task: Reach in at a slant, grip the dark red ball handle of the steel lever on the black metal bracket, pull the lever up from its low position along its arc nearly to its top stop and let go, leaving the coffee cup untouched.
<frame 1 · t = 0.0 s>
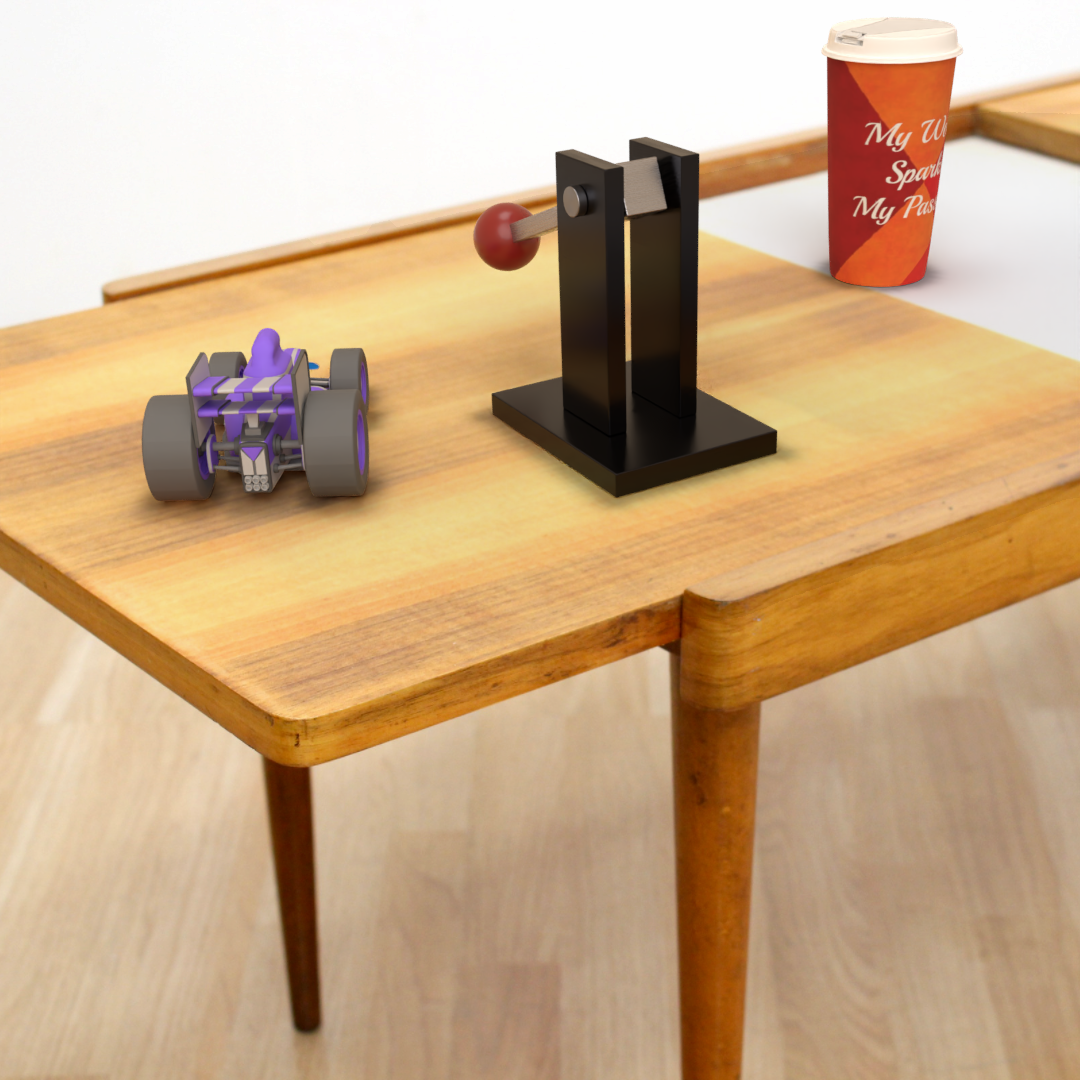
toy race car: (282, 453, 76), on the table
bracket: (629, 433, 76), on the table
lever: (560, 216, 77), point 9 cm above the table, hinge at -22.0°
coffee cup: (877, 275, 98), on the table
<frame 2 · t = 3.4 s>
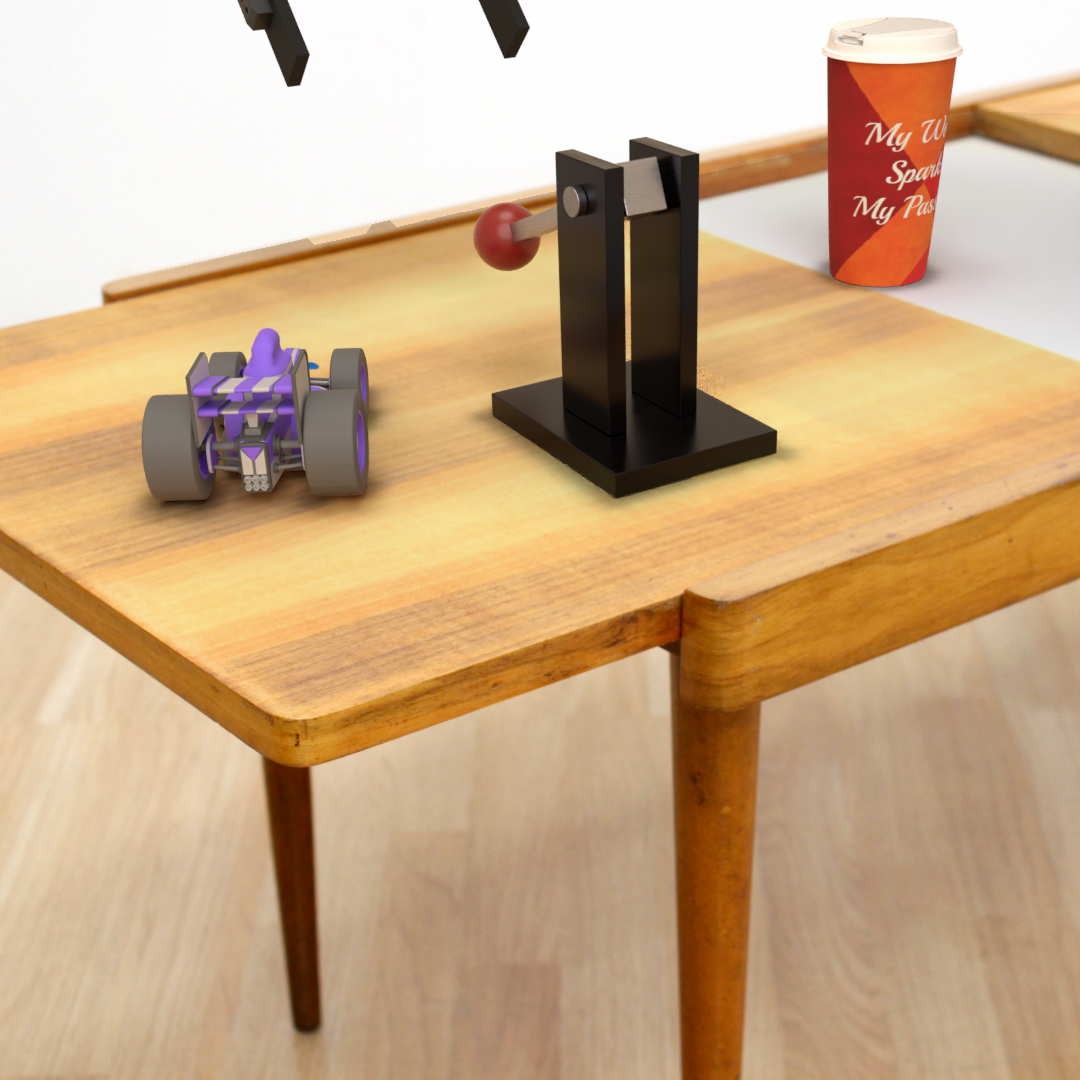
hand: (411, 57, 87), 15 cm above the table, tool tilted 45°, fingers open, 13 cm apart
nothing on the table moved.
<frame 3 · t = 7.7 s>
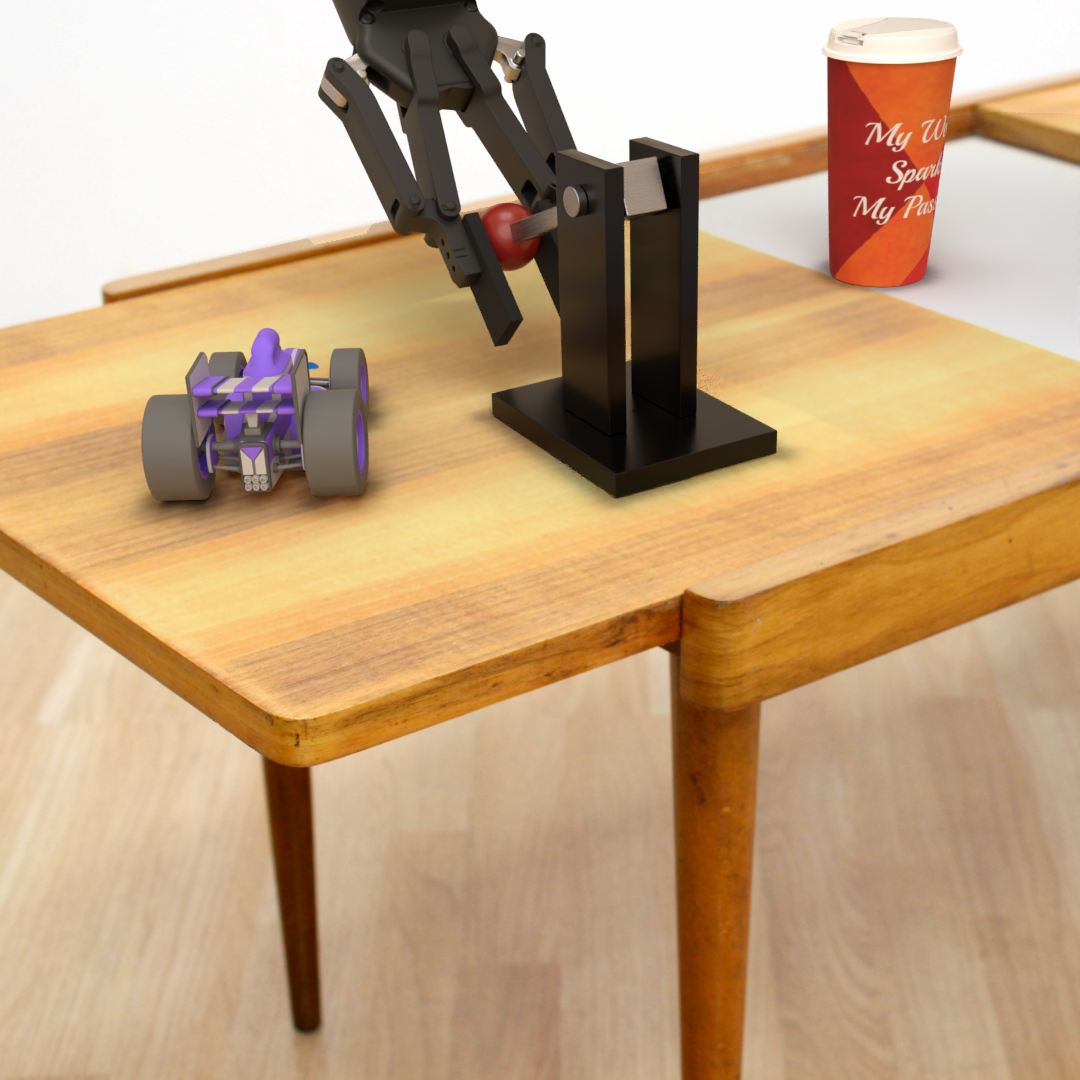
hand: (544, 324, 81), 3 cm above the table, tool tilted 45°, fingers closed on lever, 4 cm apart
lever: (560, 216, 77), point 9 cm above the table, hinge at -22.0°, touching gripper
everything else where it was.
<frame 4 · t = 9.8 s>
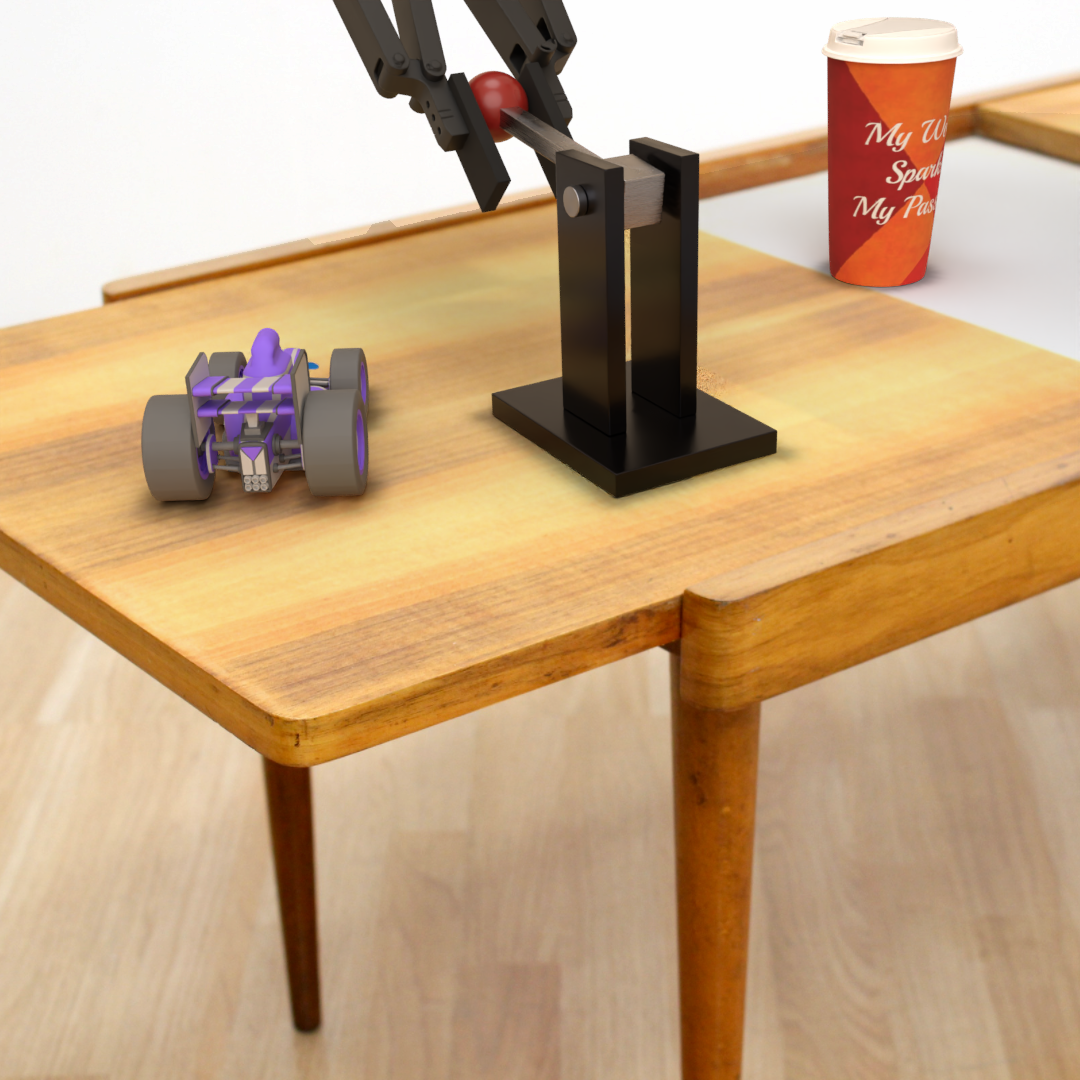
hand: (533, 189, 79), 10 cm above the table, tool tilted 45°, fingers closed on lever, 4 cm apart
lever: (554, 145, 76), point 13 cm above the table, hinge at 8.1°, touching gripper
everything else where it was.
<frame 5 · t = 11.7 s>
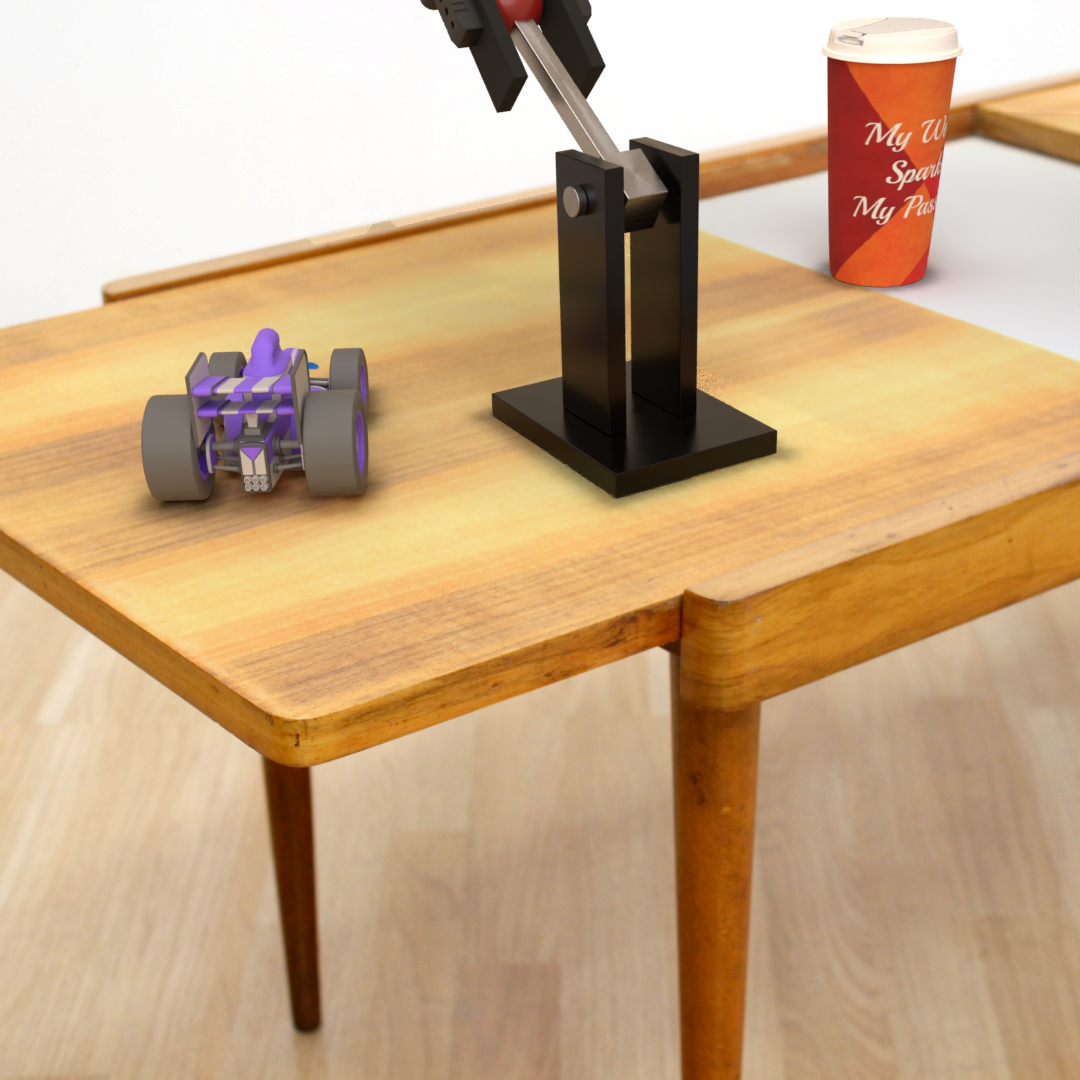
hand: (551, 88, 75), 16 cm above the table, tool tilted 45°, fingers closed on lever, 3 cm apart
lever: (562, 92, 74), point 16 cm above the table, hinge at 32.8°, touching gripper
everything else where it was.
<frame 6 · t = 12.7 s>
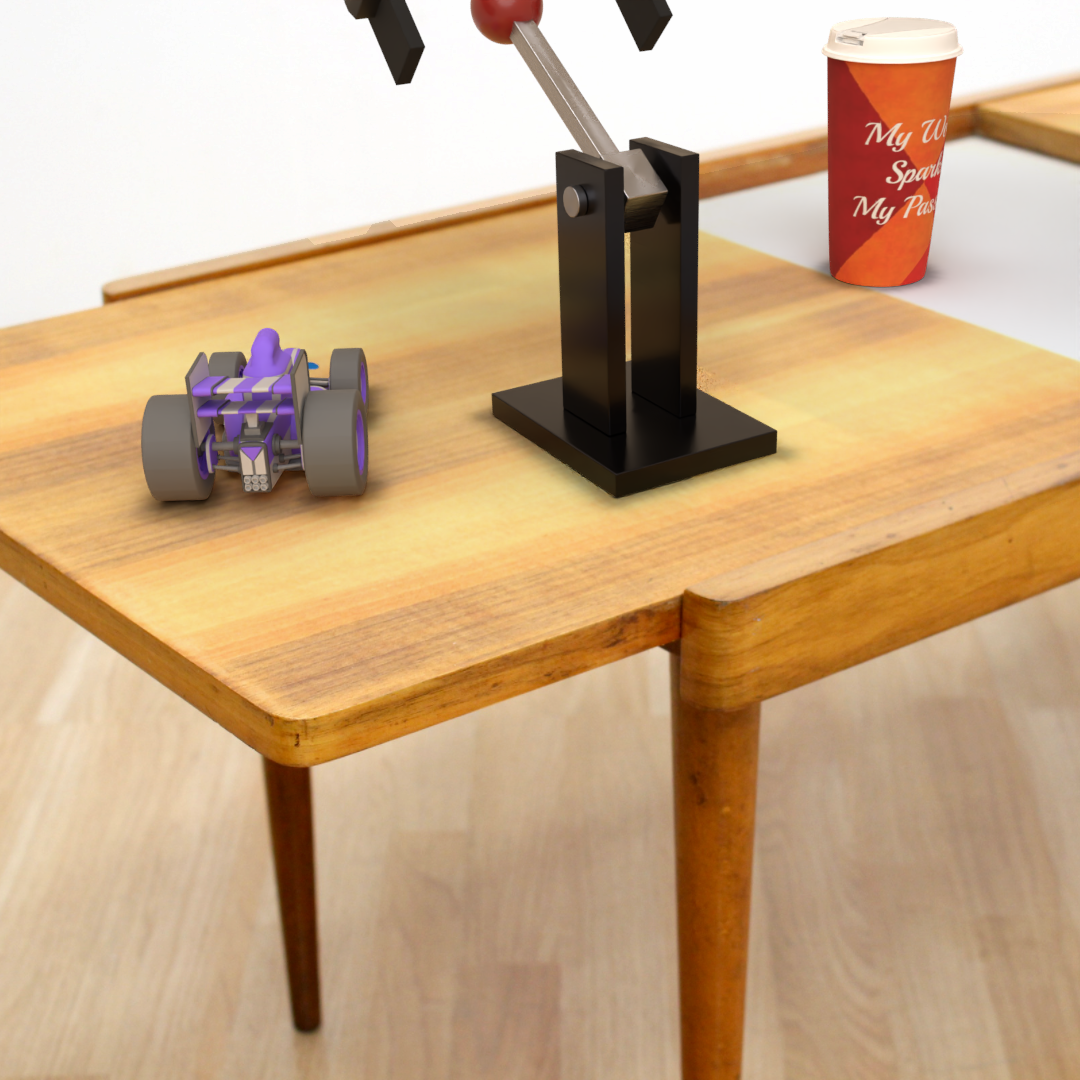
hand: (538, 50, 75), 17 cm above the table, tool tilted 45°, fingers open, 13 cm apart
lever: (562, 92, 74), point 16 cm above the table, hinge at 32.6°
everything else where it was.
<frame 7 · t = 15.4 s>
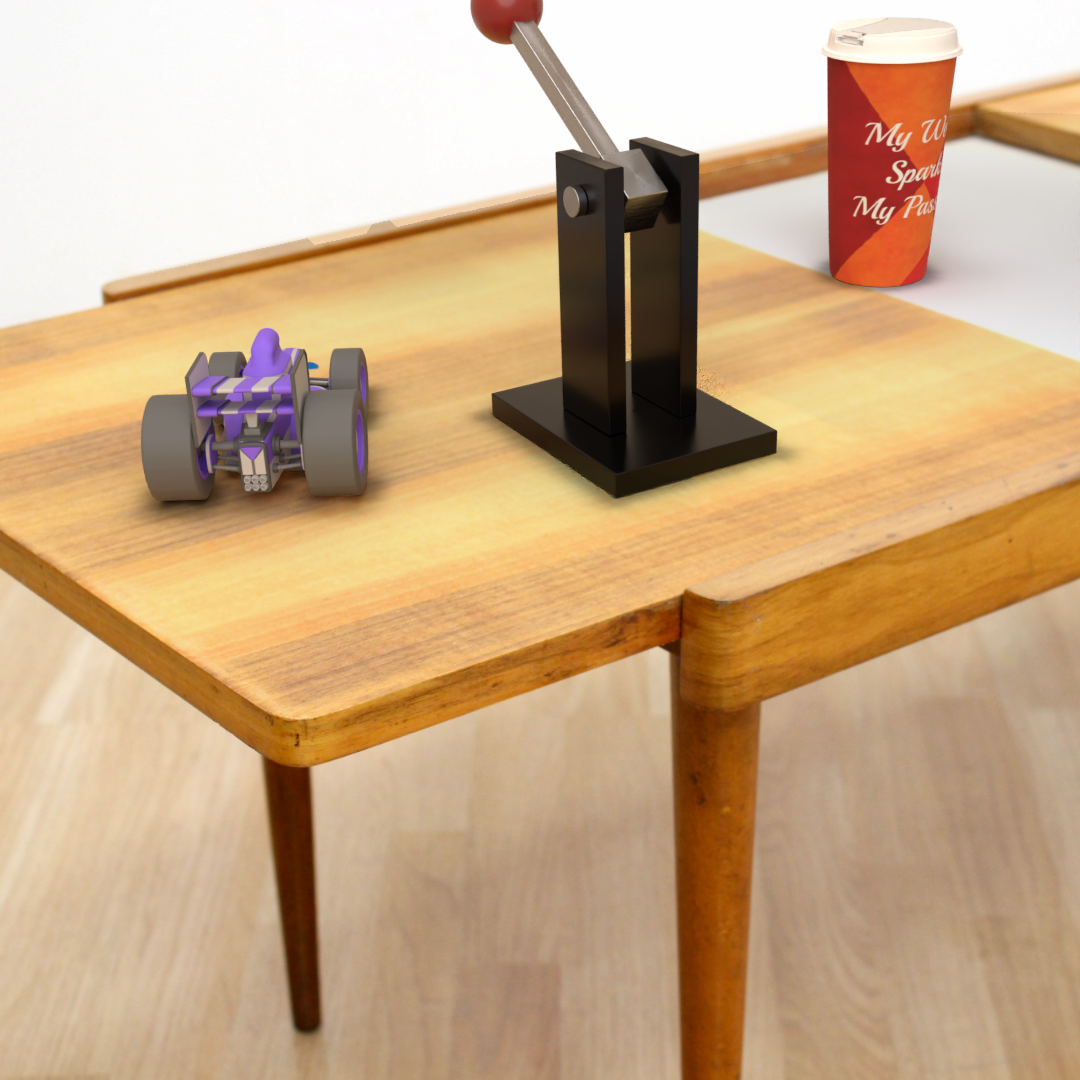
nothing on the table moved.
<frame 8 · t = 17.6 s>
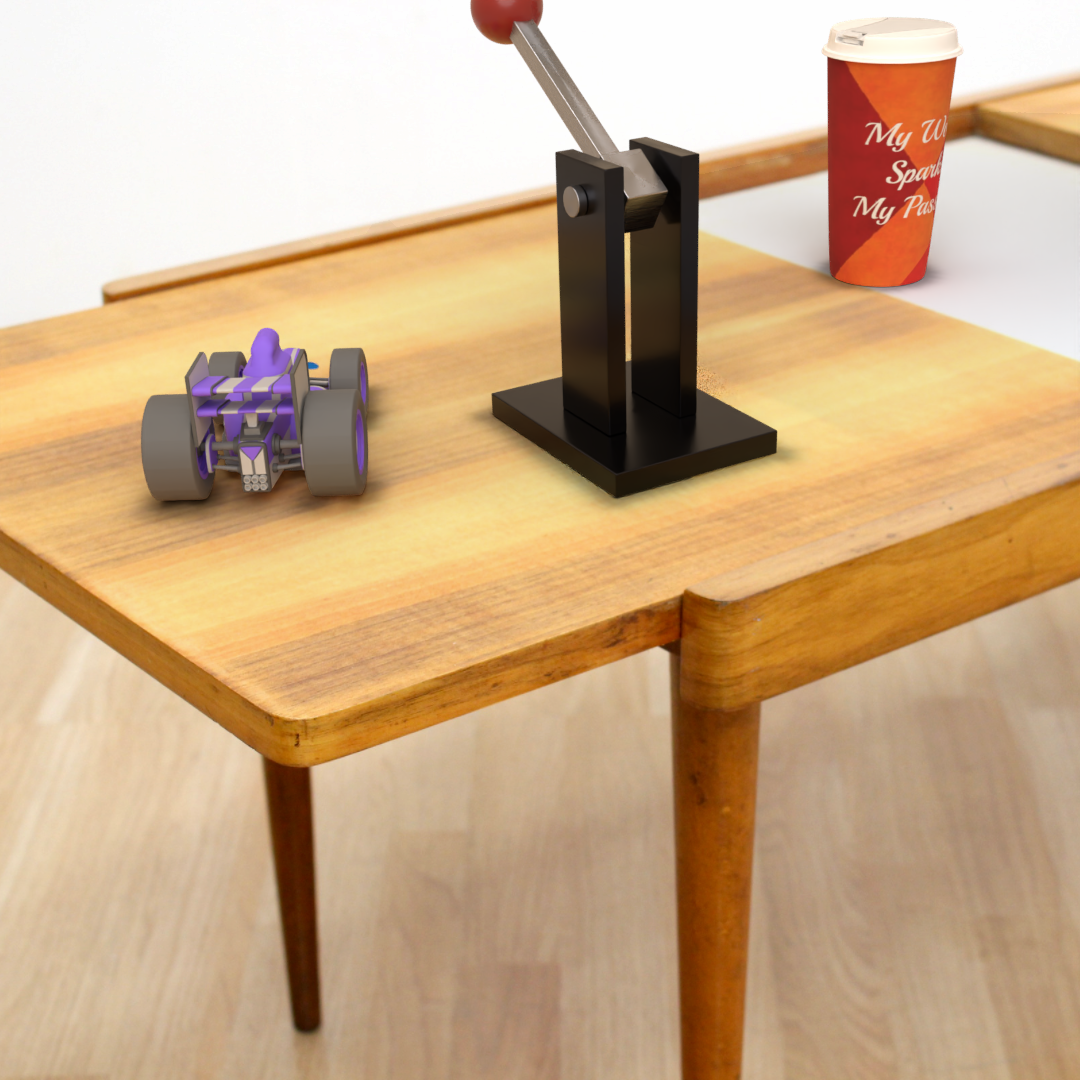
nothing on the table moved.
at the end: lever reached +34° during the clip, +33° at the end; lever at +33° (first picture: -22°); coffee cup moved 0.2 cm from its start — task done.
